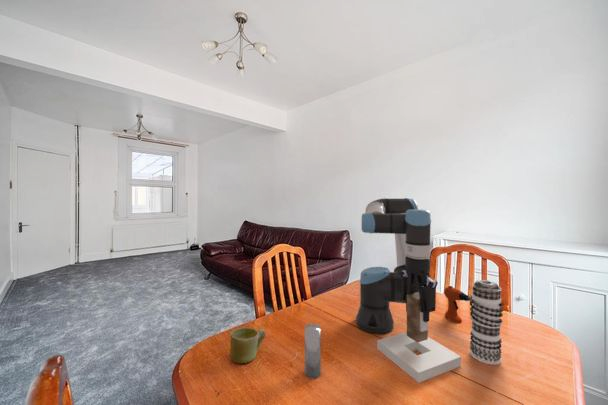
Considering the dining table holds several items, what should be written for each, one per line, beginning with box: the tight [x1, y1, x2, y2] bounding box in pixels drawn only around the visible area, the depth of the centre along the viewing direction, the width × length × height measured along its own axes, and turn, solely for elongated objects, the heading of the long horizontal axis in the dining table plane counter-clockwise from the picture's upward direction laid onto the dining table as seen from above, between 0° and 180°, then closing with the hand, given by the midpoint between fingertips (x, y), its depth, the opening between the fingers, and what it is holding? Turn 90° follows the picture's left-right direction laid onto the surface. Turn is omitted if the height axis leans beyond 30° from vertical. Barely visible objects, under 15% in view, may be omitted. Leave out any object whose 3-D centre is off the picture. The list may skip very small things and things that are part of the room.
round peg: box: [304, 323, 322, 379], centre depth 78 cm, size 5×5×14 cm
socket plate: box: [376, 331, 462, 383], centre depth 86 cm, size 18×18×3 cm
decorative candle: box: [469, 279, 505, 366], centre depth 86 cm, size 9×9×25 cm
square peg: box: [406, 292, 429, 343], centre depth 85 cm, size 4×4×14 cm
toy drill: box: [443, 285, 473, 324], centre depth 107 cm, size 5×18×14 cm, turn 8°
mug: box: [229, 327, 266, 364], centre depth 87 cm, size 12×10×10 cm
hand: (417, 326), depth 85 cm, fingers closed on square peg, 4 cm apart
